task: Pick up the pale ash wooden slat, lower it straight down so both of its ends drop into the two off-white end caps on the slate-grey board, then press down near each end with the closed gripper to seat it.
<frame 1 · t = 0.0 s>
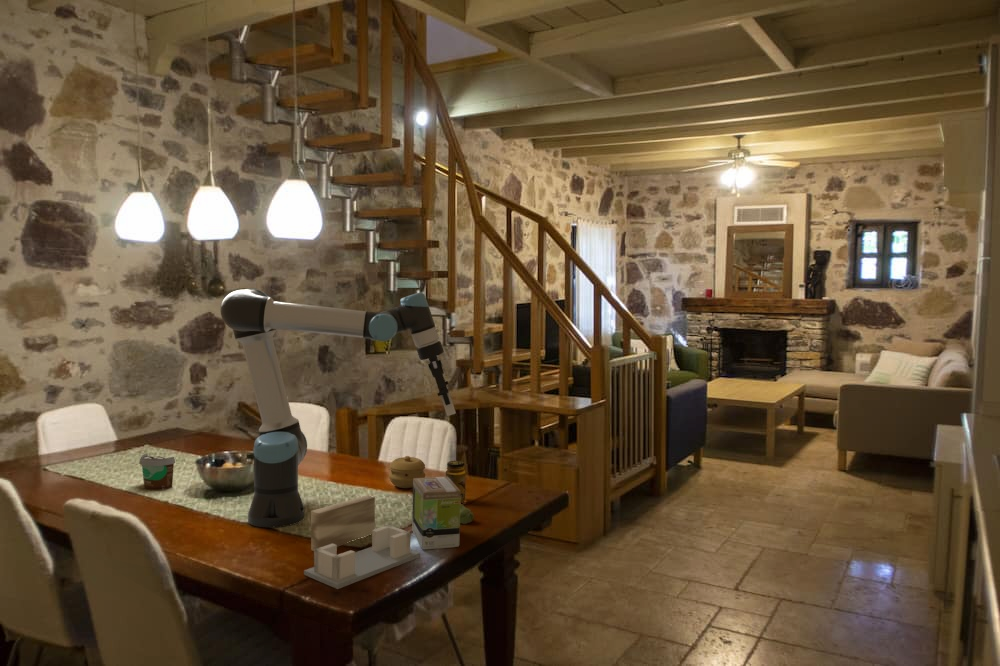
hand: (450, 410, 224), 28 cm above the table, tool tilted 20°, fingers open, 13 cm apart
tea box: (435, 539, 194), on the table
pot: (407, 487, 242), on the table
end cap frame: (363, 565, 175), on the table
slat: (343, 542, 191), on the table
pear: (457, 521, 209), on the table
condiment: (452, 502, 227), on the table
food container: (153, 488, 236), on the table
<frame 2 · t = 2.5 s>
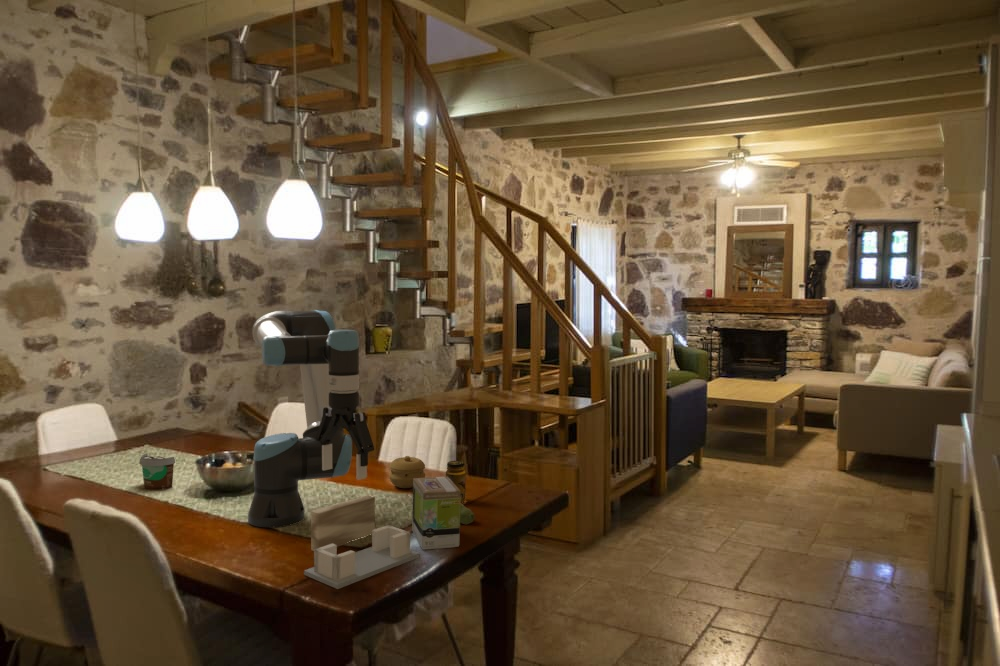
hand: (344, 474, 189), 18 cm above the table, tool pointing down, fingers open, 13 cm apart
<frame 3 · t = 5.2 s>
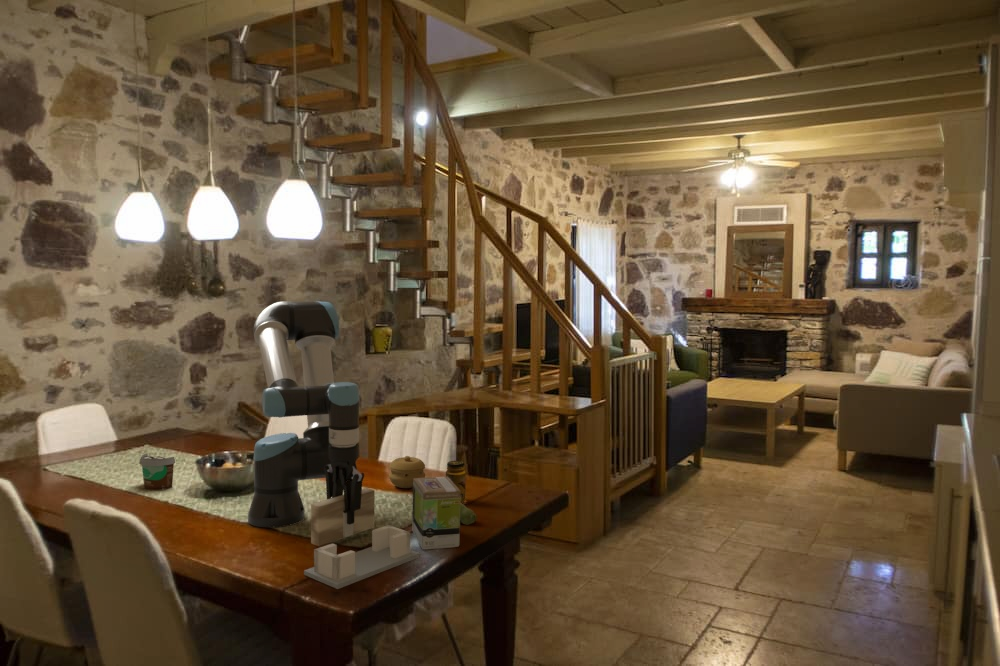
hand: (343, 533, 191), 2 cm above the table, tool pointing down, fingers closed on slat, 3 cm apart
slat: (343, 535, 191), point 2 cm above the table, touching gripper
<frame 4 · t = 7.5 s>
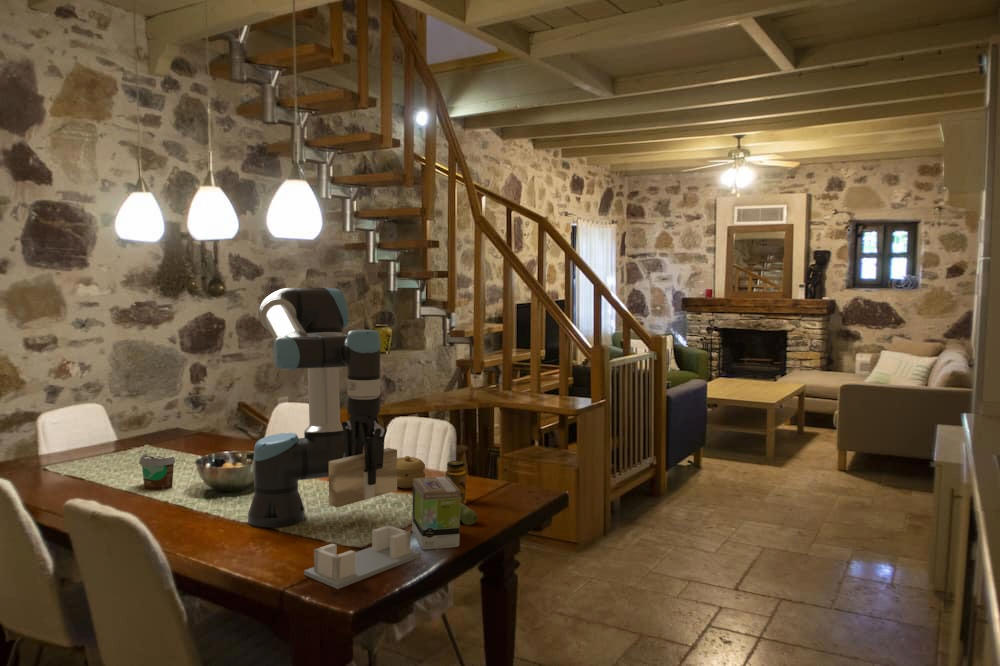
hand: (363, 496, 174), 17 cm above the table, tool pointing down, fingers closed on slat, 3 cm apart
slat: (364, 497, 174), point 16 cm above the table, touching gripper
when the fingers open (3 cm above the table, at t = 10.3 s): slat drops 1 cm, resting on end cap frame.
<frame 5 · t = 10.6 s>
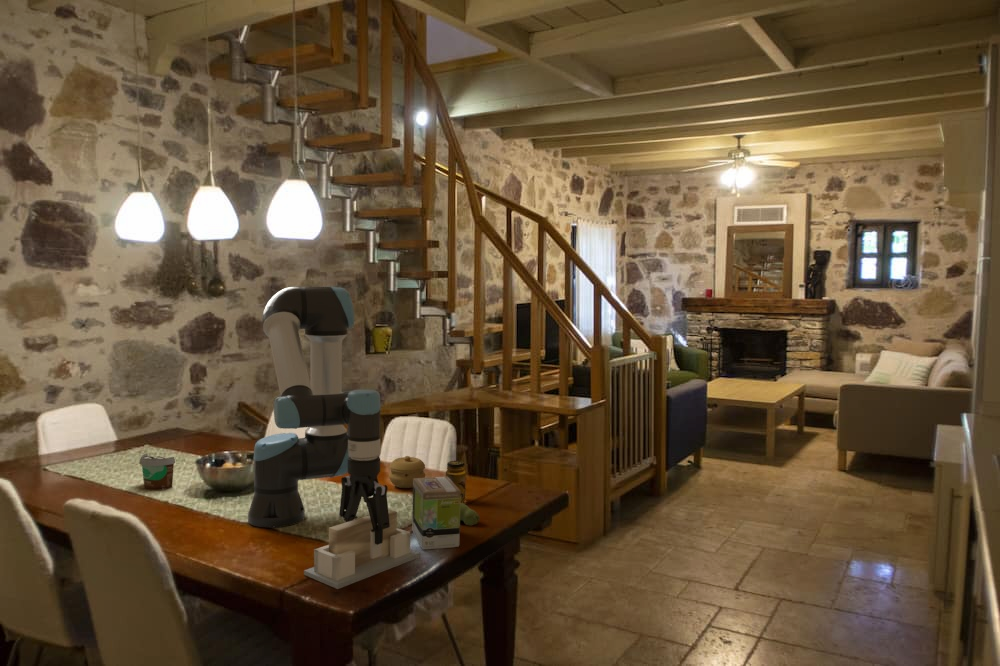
hand: (363, 552, 175), 3 cm above the table, tool pointing down, fingers open, 8 cm apart
slat: (364, 561, 175), point 1 cm above the table, touching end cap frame
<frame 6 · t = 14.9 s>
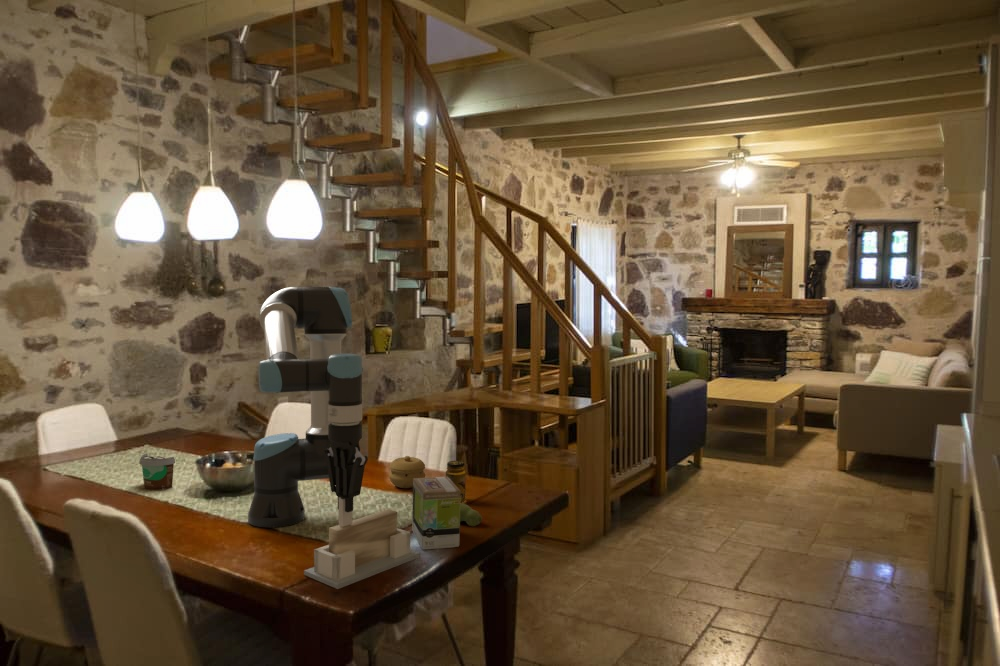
hand: (345, 524, 170), 11 cm above the table, tool pointing down, fingers closed
slat: (364, 561, 175), point 1 cm above the table, touching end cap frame, gripper
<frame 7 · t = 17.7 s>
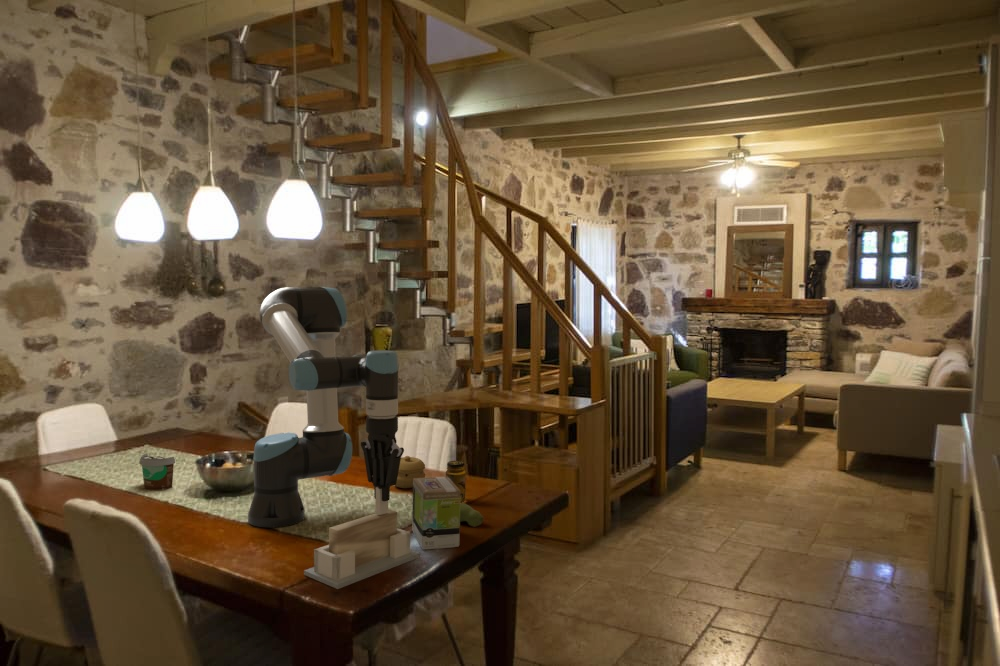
hand: (381, 513, 179), 11 cm above the table, tool pointing down, fingers closed
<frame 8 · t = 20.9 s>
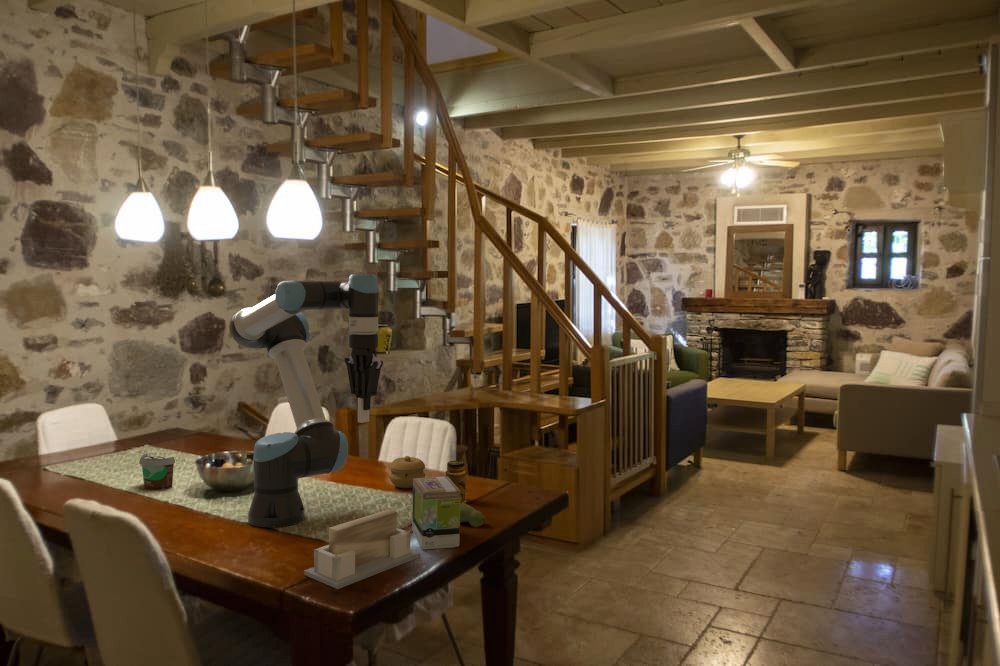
hand: (363, 421, 197), 29 cm above the table, tool pointing down, fingers closed
slat: (364, 561, 175), point 1 cm above the table, touching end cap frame
at the end: slat 0.1 cm off-centre on the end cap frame, point 1.0 cm above the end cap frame's base; slat tilted 0°; the gripper is holding nothing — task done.
